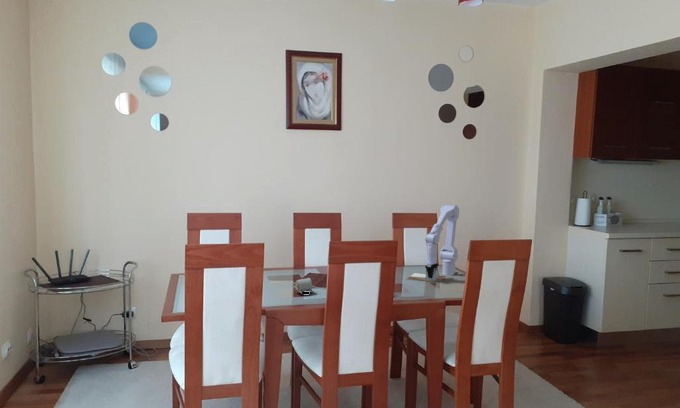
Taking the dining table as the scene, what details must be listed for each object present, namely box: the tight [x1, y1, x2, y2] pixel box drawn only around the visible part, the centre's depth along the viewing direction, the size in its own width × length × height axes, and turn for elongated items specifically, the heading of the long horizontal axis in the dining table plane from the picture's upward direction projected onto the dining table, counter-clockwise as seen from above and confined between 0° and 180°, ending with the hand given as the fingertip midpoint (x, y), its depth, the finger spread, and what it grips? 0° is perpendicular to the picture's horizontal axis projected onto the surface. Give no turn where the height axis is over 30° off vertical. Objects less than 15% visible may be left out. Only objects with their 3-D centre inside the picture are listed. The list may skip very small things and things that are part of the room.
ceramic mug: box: [294, 277, 313, 294], centre depth 252 cm, size 11×8×8 cm
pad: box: [409, 272, 426, 278], centre depth 288 cm, size 9×9×1 cm
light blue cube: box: [425, 268, 439, 281], centre depth 279 cm, size 6×6×6 cm
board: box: [405, 275, 447, 284], centre depth 283 cm, size 18×20×1 cm
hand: (431, 276), depth 279 cm, fingers closed on light blue cube, 6 cm apart
